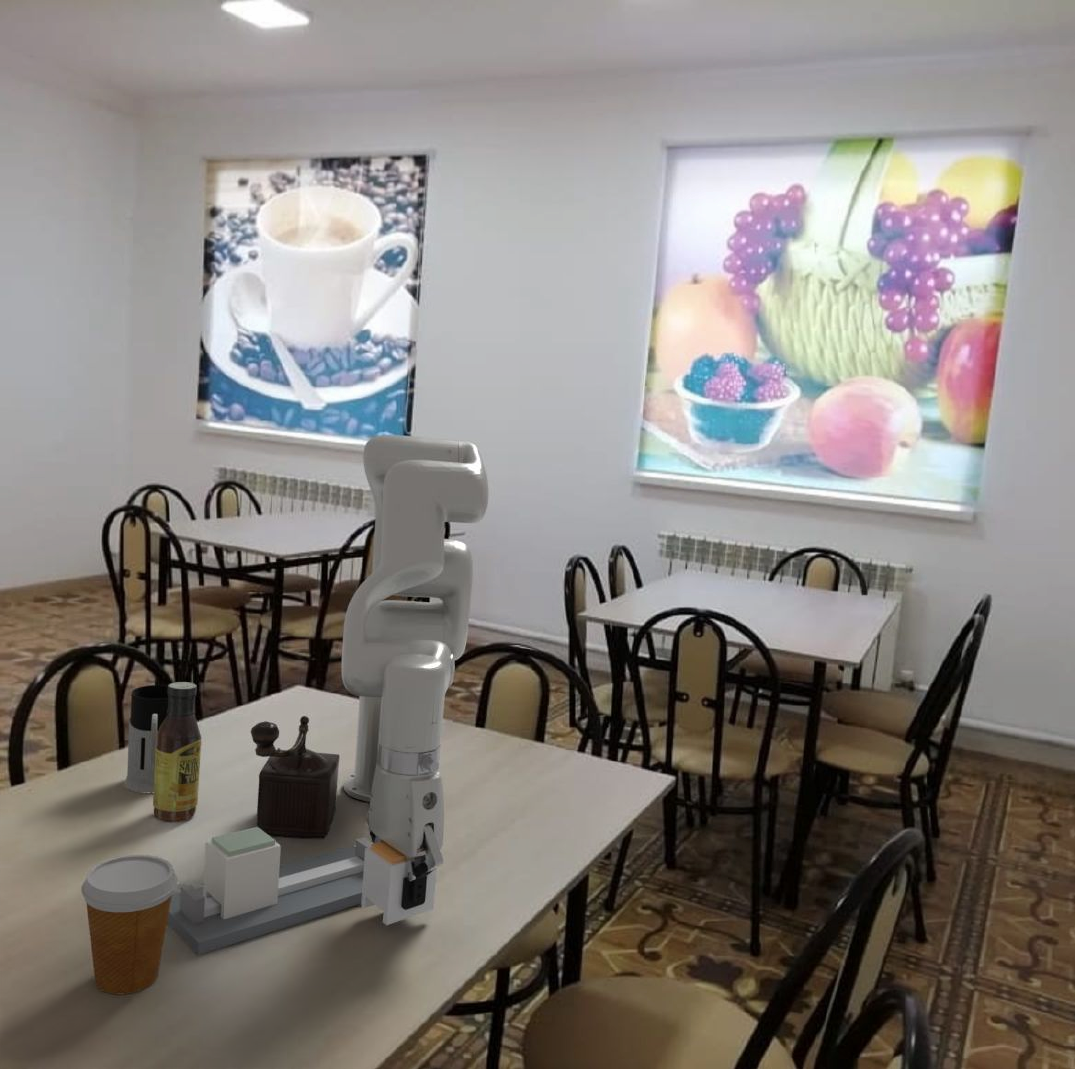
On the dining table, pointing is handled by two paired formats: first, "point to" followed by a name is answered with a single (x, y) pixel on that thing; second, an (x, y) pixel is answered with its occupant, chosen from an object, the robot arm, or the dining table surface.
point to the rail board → (276, 912)
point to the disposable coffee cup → (128, 919)
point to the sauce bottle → (177, 757)
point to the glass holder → (145, 735)
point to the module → (391, 883)
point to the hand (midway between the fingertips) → (398, 893)
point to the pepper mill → (294, 786)
